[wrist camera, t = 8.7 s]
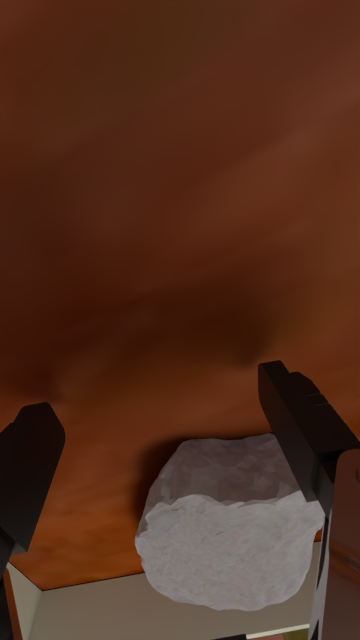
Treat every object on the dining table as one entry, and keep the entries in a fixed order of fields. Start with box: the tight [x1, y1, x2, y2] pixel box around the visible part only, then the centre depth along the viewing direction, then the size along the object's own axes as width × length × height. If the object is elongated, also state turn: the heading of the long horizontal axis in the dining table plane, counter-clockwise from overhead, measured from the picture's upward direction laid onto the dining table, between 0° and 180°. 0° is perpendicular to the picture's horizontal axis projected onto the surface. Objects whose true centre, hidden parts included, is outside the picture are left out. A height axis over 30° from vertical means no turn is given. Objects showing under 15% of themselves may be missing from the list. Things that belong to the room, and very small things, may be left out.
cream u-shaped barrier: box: [6, 541, 321, 640], centre depth 14 cm, size 21×27×4 cm
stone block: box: [135, 433, 325, 611], centre depth 15 cm, size 12×5×10 cm
